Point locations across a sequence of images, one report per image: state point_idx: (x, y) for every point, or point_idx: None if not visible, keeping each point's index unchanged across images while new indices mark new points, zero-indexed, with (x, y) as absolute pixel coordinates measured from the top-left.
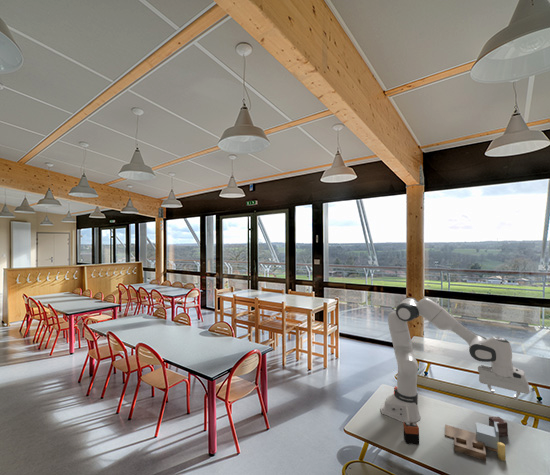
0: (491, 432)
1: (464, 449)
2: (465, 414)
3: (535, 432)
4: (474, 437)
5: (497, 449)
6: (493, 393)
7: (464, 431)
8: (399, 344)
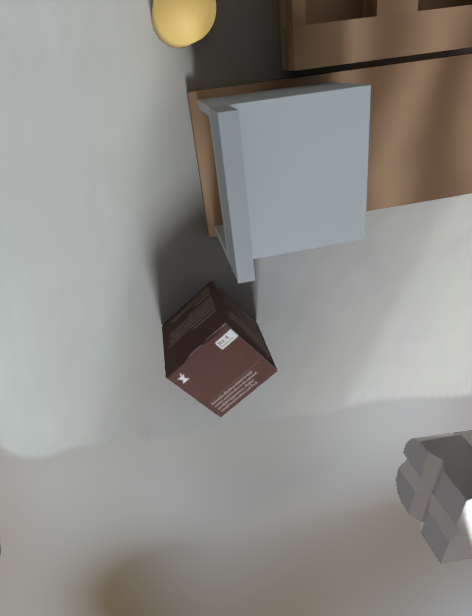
0: (262, 161)
1: None
2: (368, 384)
3: (45, 456)
4: None
5: None
6: (435, 444)
7: (395, 187)
8: None
